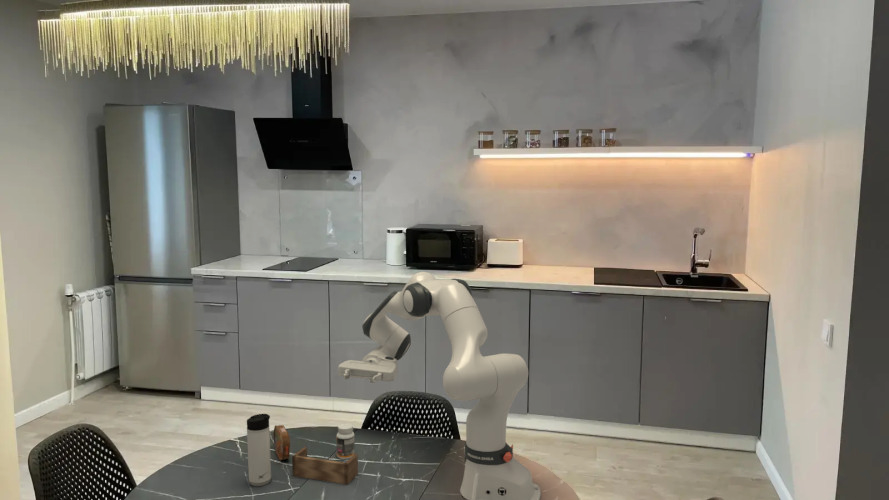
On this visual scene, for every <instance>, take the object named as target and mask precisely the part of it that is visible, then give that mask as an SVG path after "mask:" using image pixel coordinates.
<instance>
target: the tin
mask: <svg viewBox="0 0 889 500" xmlns="http://www.w3.org/2000/svg"><path fill="white" fill-rule="evenodd" d="M273 446H274V447H273V448H274V451H275V453H276V456H277V457H278V459H279V460H280V461H284V460H289V458H290V456H291V455H290V454H291V453H290V450H291V449H290V448H291V439H290V433H289V432H288V430H287V429H286V426H284V425H283V424H281V425H280V424H279V425H274V428H273Z"/></svg>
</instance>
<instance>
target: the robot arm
mask: <svg viewBox="0 0 889 500" xmlns="http://www.w3.org/2000/svg"><path fill="white" fill-rule="evenodd" d="M472 295H473V294H472V289H471V287H470V285H469V284H468V282H467V281H466V280H464V279H461V278H460V279H459V278H450V279H437V278H436V277H435V276H434V275H433V274H431V273H429V272H427V271H419V272H416V273H414V274H413V275H412V276H411V277H410V278H409V280H408V281H407V282H406V283H405V285H404V287H403V288H402V291H396V290H395V291H392V292H391V293H390V294H388V295H387V296H386V298H384V299H383V301H382V302H381V303H380V304H379V305H378V307H377V308H376V309H375V310H374V311H372V313H370V314H368V315H367V316H366V318H365V319H364V320H363V323H362V333H363V334H364V335H363V336H366V337H368V338H369V339H371V340H373V341H374V342H375V343H377V346H376V347H375V348H374V349H372V351H370V352H368V353H367V354H366V355H365V356H363V358H362V360H355V359H353V360H352V359H348V360H345V361H343V362H341V363H339V364H338V367H337V374H338V376H340V377H343V380H348V381H349V379H351V378H357V379H365V380H369V382H370V383H372V384H375V383H376V382H390V383H391V382H394V381H395V380H396V378H397V376H398V368H399V367H398V365H399V364H398V361H399V360H401V359H402V358H403V356H405V354H406V353H407V352H408V350H409V349H410V347H411V344H412V339H411V337H412V336H411V334H410V333H409V332H408V331H406V329H404V328H403V327H402V326H400V325H399V324H398V323H396V322H395V321H393V320H392V319H390V318H389V316H387V314H388V313H390V314H393V315H395V316H397V317H400V318H401V319H403V320H407V321H418V320H420V319H421V320H422V319H423V318H424V317H432V316H440V317H441V320H442V324H443V325H444V328H445V331H446V333H447V336H448V339H449V342H450V346H451V359H450V362H449V364H448V366H447V367H446V369H444V373H443V376H442V385H443V389H444V391H445V393H446V395H447V396H448V397H449V398H451V400H454V401H463V402H464V401H465V402H466V401H468V402H471V401H475V400H478V402H477V404H476V405H475V406H474V407H473V408H471V410H470V411H469V412H468V414H467V416H466V419H465V420H466V422H465V425H466V426H465V435H466V436H465V438H466V439H465V443H464V447H463V457H464V463H465V465H464V472H463V477H462V482H461V486H460V488H459V492H460V495H461V496H463V498H464V499H465V500H541V495H542V493H541V488H540V486H539V484H537V483H534V482H533V478H532V473H531V471H530V470H529V468H528V467H526V466H525V465H524V464H523V463H521V462H519V461H518V460H517V459H516V458H515V457H514V456H513V452H514V444H511V445H509V444H508V443H507V442H506V436H507V423H508V422H507V421H508V414H509V412H510V409H511V406H512V404H513V402H514V399H515V398H516V396H517V394H518V393H519V392H520V390H521V389H522V388H523V387H524V386H526V384H527V382H528V378H529V368H528V365H527V363H526V361H525V359H524V358H523V357H522V356H521V355H519V354H516V353H505V352H504V353H497V354H492V355H487V356H485V355H484V356H483V355H482V353H481V350H480V348H481V347H482V346H483V345H484V344H485V342H486V341H487V338H488V334H489V333H488V332H489V331H488V328H487V326H486V324H485V321H484V319H483V316H482V314H481V312H480V309H479V307H478V305H477V303H476V302H475V299H474V298H473V296H472Z"/></svg>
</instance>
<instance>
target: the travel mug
mask: <svg viewBox="0 0 889 500" xmlns="http://www.w3.org/2000/svg"><path fill="white" fill-rule="evenodd" d="M270 418H271V416H270V415H269V413H258V414H253V415H252V416H250V417H249V418H247V419H246V441H247V442H246V443H247V462H248V464H247V466H248V484H249V485H250V486H252V487H262V486H263V487H264V486H266V485H268V484H270V483H271V481H272V469H271V468H272V464H271V463H272V462H271V439H270V438H271V437H270V436H271V435H270V433H271V432H270Z"/></svg>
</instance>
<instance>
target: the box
mask: <svg viewBox="0 0 889 500" xmlns="http://www.w3.org/2000/svg"><path fill="white" fill-rule="evenodd" d="M358 456H359V455H358V454H356V453H355V454H354V455H353V456H352V457H351V458H350V459H347V460H346V462H343V461H336V460H329V459H323V458H322V459H321V458H316V457H309V456H308V447H306V446H304V447H302V448H301V449H300V450H298V451H297V452H296V453H294V454H293V455H292V456H291V461H292V462H291V463H292V464H291V465H292V466H291V467H292V476H293V477H299V478H305V479H311V480H316V481H317V480H318V481H323V482H328V483H329V482H330V483H335V484H336V483H337V484H341V485H342V484H343V485H346V486H347V485H349V484H350V483H351V482H352V481H353V480H354V478H356V477H357V475H358V474H359V459H358V458H359V457H358Z"/></svg>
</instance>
